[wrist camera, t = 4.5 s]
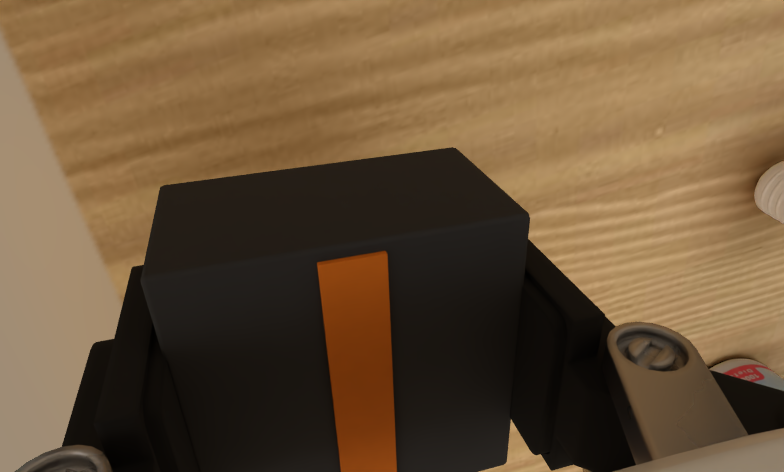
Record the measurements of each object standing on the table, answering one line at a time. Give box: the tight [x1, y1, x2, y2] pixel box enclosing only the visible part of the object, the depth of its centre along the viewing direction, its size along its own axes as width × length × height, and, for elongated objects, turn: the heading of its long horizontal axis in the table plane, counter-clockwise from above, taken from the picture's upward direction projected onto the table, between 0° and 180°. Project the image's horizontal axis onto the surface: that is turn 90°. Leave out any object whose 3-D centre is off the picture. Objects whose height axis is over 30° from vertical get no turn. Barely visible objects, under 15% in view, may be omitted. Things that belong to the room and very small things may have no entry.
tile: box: [141, 147, 530, 472], centre depth 11 cm, size 6×6×3 cm
